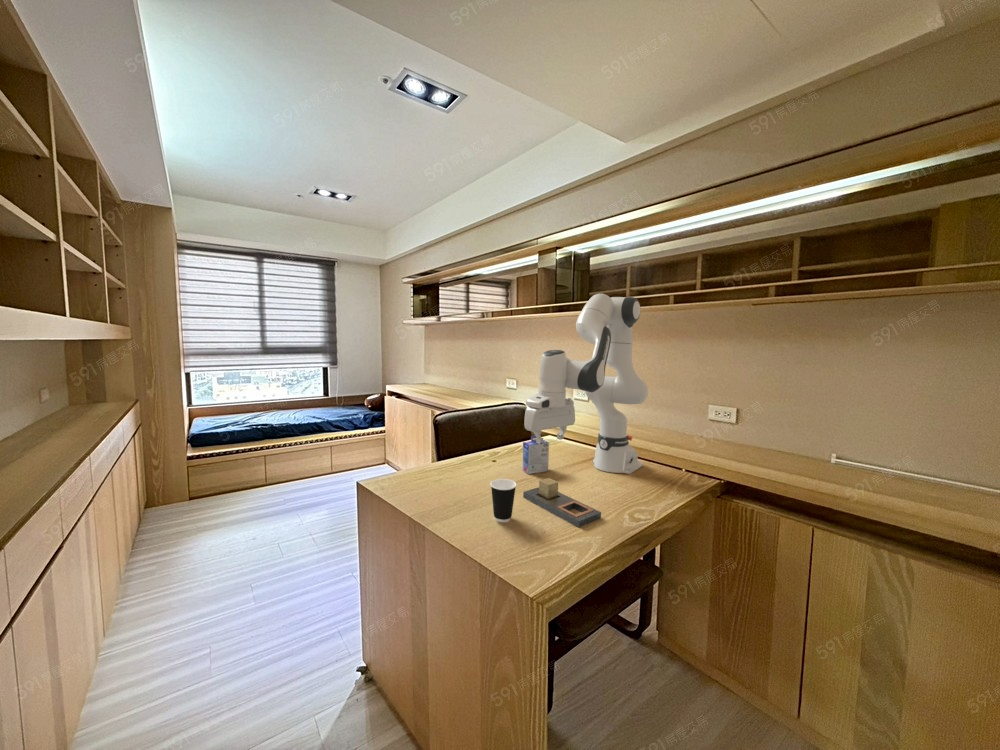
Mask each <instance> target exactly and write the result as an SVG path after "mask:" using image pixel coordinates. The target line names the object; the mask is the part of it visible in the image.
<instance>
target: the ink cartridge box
mask: <svg viewBox="0 0 1000 750" xmlns="http://www.w3.org/2000/svg"><path fill="white" fill-rule="evenodd" d="M533 438H534V439H533ZM549 459H550V442H549V441H547V440H545V439H543V443H541V444H538V443H536V436H535V435H530V441H523V442H522V471H523V472H524V473H526V474H527V475H533V474H538V473H545V472H549Z"/></svg>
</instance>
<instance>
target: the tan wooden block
mask: <svg viewBox="0 0 1000 750" xmlns="http://www.w3.org/2000/svg"><path fill="white" fill-rule="evenodd" d="M538 487H539V497H541V498H543V499H545V500H547V501H549V500H552V499H555V498H558V492H559V481H557V480H555V479H552V478H550V477H548V478H544V479H540V480H538Z"/></svg>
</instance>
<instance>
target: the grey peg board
mask: <svg viewBox="0 0 1000 750" xmlns="http://www.w3.org/2000/svg"><path fill="white" fill-rule="evenodd" d="M522 497H523V499H526V500H527V501H529V502H531V503H532V504H534V505H536V506H538V507H540V508H542V509H544V510H545V511H547V512H549V513H551V514H553V515H554V516H556V517H558V518H560V519H561V520H564V521H565V522H568V523H570V524H571V525H573V526H575V527H577V528H579V529H580V528H582V527H585V526H587V525H589V524H591V523H593V522H596V521H598V520H601V518H602V511H599V510H598V509H595V508H593V507H591V506H589V505H587V504H585V503H583V502H580V501H578V500H577V499H575V498H572V497H571V496H568V495H566V494H564V493H562V492H560V491H558V498H555V499H552V500H549V501H547V500H545V499H543V498H541V497H539V486H538V487H536V488H532V489H528V490H525V491H523V495H522ZM573 510H575V511H577V512H579V513H577V514H576V513H574V512H572V511H573Z"/></svg>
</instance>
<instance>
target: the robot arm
mask: <svg viewBox="0 0 1000 750" xmlns="http://www.w3.org/2000/svg"><path fill="white" fill-rule="evenodd" d="M641 311H642V309H641V303H640V302H639V300H638V299H637V298H636V297H633V296H626V297H625V296H624V297H623V296H612V297H610V296H609V295H608V294H606V293H596V294H593V295H592V296H591V297H590V298H589V300H587V301H586V303H585V304H584V306H583V308H582V310H581V311H580V312H579V314H578V316H577V319H576V322H575V329H576V332H577V334H578V335H579V337H581V339H583V341H585V342H588V343H591V344H593V345H594V347H593V352H592V356H591V358H590V359H588V360H575V359H574V360H573V359H570V358H568V357H567V354H566V352H565V351H564V350H561V349H553V350H552V349H551V350H546V351H545V352H543V353H542V355H541V357H540V362H539V373H538V374H539V375H538V377H539V378H538V379H539V386H538V393H536V394H535V395H533V396H531V397H529V398H527V399H526V401H525V405H526V406H527V407H526V408H525V411H524V412H525V413H524V424H523V425H524V429H525V430H526V431H529V432H533V434H534V436H536V437H535V439H536V443H538V444H541V443H543V440H544V437H542V436H541V434H542V431H547V430H551V429H557V428H559V430H558V433H556V440H559V441H560V440H564V437H565V436H564V435H565V433H566V431H567V427H569V426H574V425H575V422H576V410H575V405H574V403H575V402H574V400H573V399H572V398H570V397H566V394H567V393H566V392H567V389H572V390H578V391H579V390H580V391H583V392H584V394H585V395H586V397H587V398H588V399H589V400H590V401H591V402H592V403H593V405H594V406H595V408H596V411H597V413H598V417H599V418H598V419H599V433H598V434H597V442H598V443H597V444H596V446H595V447H596V448H595V453H594V454H595V455H594V458H593V459H592V462H593V467H594V468H595V469H597V470H600V471H603V472H607V473H617V474H627V475H630V474H632V473H634V472H635V471H637V470H638V469H640V468H642V467H643V466H644V463H643V462H641V461H640V460H638V451H636V449H635V448H633V446H631V445H630V443H629V441H632V440H633V436H632V435H629V434H628V433H627V431H628V419H627V417H626V415H625V414H624V413H623V412H622V411H619V410H618V409H617V408H616V407H615V404H623V405H639V404H640V405H641V404H642V403H644V402H645V401H646V399H647V398H648V394H649V389H648V388H649V387H648V386H647V383H646V382H645V381H644V380H643V379H642V378H640V376H639V375H638V374H637V372H636V371H635V368H634V365H633V341H634V338H633V335H634V333H633V327H634V324H636V323H637V322H638V320H639V318H640V316H641ZM606 365H607V366H608V367H609V368H611V369H613V370H615V372H616V376H609V375H608V376H607V375H606V368H607V367H606Z"/></svg>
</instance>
